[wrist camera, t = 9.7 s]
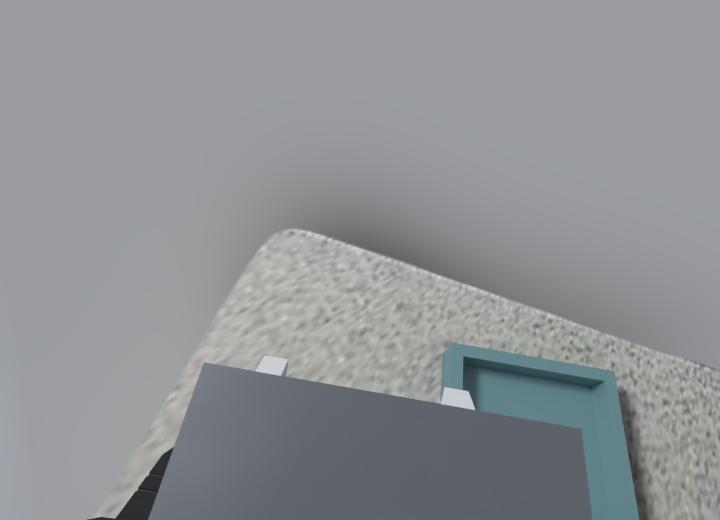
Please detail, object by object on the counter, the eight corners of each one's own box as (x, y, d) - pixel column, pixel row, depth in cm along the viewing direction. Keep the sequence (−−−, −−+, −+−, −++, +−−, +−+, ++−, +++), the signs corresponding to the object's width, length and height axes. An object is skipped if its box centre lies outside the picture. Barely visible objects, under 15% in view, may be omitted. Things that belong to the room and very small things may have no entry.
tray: (593, 379, 37) (614, 371, 34) (620, 568, 30) (648, 575, 27) (443, 353, 37) (452, 342, 35) (434, 535, 30) (444, 538, 27)
